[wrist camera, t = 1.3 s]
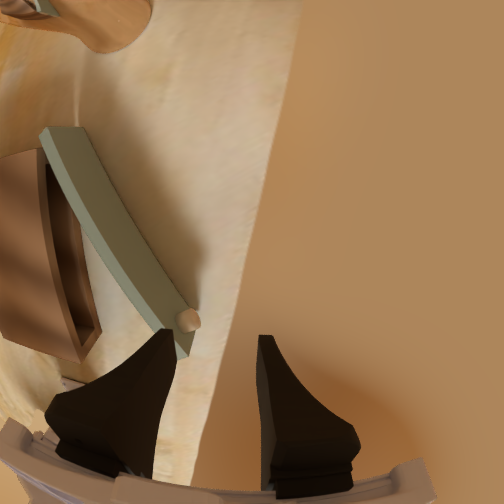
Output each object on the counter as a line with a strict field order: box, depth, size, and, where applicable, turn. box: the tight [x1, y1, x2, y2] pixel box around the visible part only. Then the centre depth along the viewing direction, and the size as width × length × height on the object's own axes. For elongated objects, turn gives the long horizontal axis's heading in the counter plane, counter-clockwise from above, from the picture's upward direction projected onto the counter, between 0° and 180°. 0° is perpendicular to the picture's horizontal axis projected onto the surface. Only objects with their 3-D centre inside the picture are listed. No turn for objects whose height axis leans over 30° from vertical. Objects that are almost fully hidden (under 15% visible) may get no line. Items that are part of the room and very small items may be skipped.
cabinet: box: [0, 148, 102, 364], centre depth 18 cm, size 18×12×5 cm, turn 177°
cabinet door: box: [39, 126, 201, 360], centre depth 17 cm, size 19×2×5 cm, turn 27°
